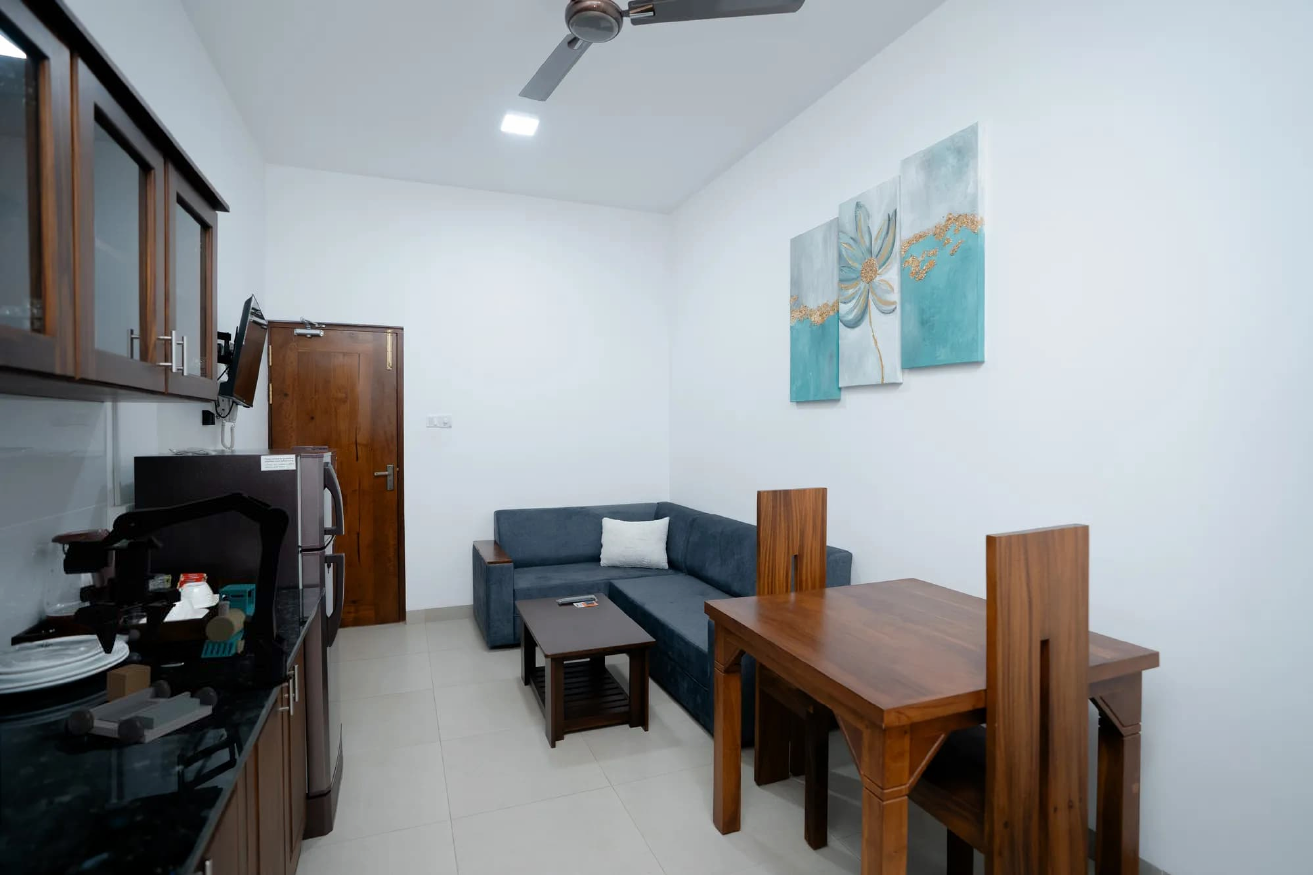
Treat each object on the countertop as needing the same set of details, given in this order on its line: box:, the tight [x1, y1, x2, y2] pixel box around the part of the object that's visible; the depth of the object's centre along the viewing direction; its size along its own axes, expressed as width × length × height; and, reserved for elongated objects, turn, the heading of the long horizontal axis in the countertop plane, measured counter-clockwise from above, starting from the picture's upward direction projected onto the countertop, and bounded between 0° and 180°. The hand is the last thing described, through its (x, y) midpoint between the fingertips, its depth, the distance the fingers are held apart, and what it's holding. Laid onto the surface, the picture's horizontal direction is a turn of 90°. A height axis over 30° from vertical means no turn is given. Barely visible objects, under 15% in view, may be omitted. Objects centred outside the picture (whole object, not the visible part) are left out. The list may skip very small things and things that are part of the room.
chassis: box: [67, 679, 218, 746], centre depth 123 cm, size 16×17×4 cm
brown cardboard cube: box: [106, 663, 151, 702], centre depth 134 cm, size 5×5×6 cm
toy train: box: [200, 583, 256, 659], centre depth 165 cm, size 8×17×15 cm, turn 15°
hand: (129, 646), depth 132 cm, fingers open, 9 cm apart
